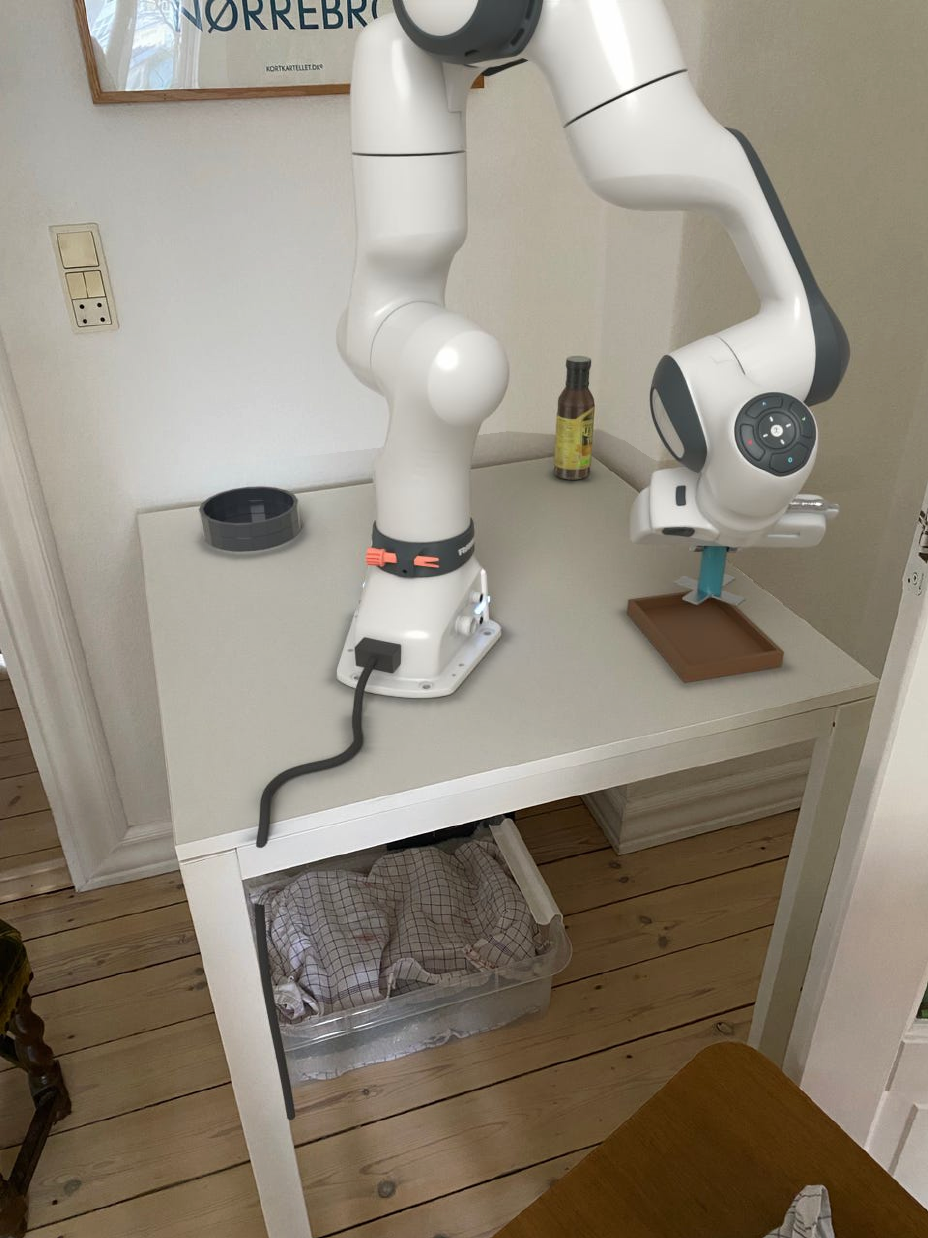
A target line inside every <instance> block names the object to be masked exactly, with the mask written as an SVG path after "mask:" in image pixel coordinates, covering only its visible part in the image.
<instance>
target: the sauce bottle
mask: <svg viewBox="0 0 928 1238" xmlns="http://www.w3.org/2000/svg"><path fill="white" fill-rule="evenodd" d="M591 367H592V358H590V357H588V356H583V355H570V356H567V358H566V360H565V368H566V377H565V387H564V389H563V390H562V391H561V393H560V394H559V396H558V398H557V412H556V418H555V419H556V420H555V439H554V440H555V441H554V456H553V457H554V458H553V461H554V462H553V464H554V469H553V471H554V476H556V477H557V478H559V479H563V480H571V481H577V480H583V479H585V478H587V477H588V476H589V475H590V474H591V470H590V469H591V465H592V453H593V440H594V428H595V427H594V424H595V410H596V404H595V398H594V395H593V393H592V392H591V389H590V388H589V386H590V371H591Z"/></svg>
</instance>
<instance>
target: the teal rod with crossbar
mask: <svg viewBox="0 0 928 1238" xmlns="http://www.w3.org/2000/svg"><path fill="white" fill-rule="evenodd" d="M727 549H728V546H705V548H704V550H703V552H700V554H701V555H700V564H699V569H698V578H697V579H694V578H692V577H689V576H686V575H683V574H682V576H680V577H678V578H677V579H675V580H674V581H673V584H675V585H678V586H681V587H683V588H686V589H688V590H690V591H692V592H690V593H689V594H687V595H685V596H684V597H683V600H685V601H688V602H690V603H693V604H696V605H698V604H700V603H701V602H703V601H704V600H706V599H707V598H709V597H712V598H715V599H718V600H720V601H723V602H726V603H729V604H731V605H734V606H736V607H739V606H740V605H741V604H742V603H744V602H745V601H746V600H747V597H744V596H741V595H738V594H735V593H733V592H731V591H728V590H726V589H725V590H724V588H725V587H727V586H729V585H730V584H731V583H733V582H734V581H735V580H736V579H737V577H736V576H732V575H729V574H728V573H725V569H726V563H727V555H728V552H727Z"/></svg>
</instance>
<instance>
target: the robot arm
mask: <svg viewBox="0 0 928 1238" xmlns="http://www.w3.org/2000/svg"><path fill="white" fill-rule="evenodd" d="M391 3H392V6H393V10H394V11H393V12H389V13H386V14H383V15H380V16H378V17H376V18H374V19H373V20H371V21H370V22H369V23H367V24H366V25H365V26H364V27H363V28H362V29H361V31H360V32H359V33H358V36H357V38H356V40H355V43H354V47H353V53H352V54H353V55H352V63H351V72H350V73H351V74H350V87H349V88H350V89H349V139H350V140H349V141H350V142H349V143H350V152H351V153H350V158H351V172H352V189H353V191H352V192H353V205H354V207H353V208H354V222H355V247H354V248H355V249H354V261H353V263H354V264H353V270H352V275H351V276H352V277H351V284H350V290H349V298H348V303H347V305H346V307H345V308H344V310H343V311H342V313H341V315H340V317H339V319H338V322H337V326H336V331H335V340H336V342H335V343H336V347H337V351H338V354H339V356H340V358H341V360H342V361H343V362H344V364H345V366H346V367H347V369H348V370H349V371H350V372H351V373H352V375H353V376H354V377H355V378H356V380H358V382H359V383H361V384H362V385H363V386H364V387H366V388H368V389H370V390H371V391H373V392H375V393H376V394H379V395H380V396H382V397H384V398H385V400H386V403H387V407H388V412H389V413H388V414H389V415H388V426H387V430H386V436H385V439H384V444H383V446H382V447H380V449H378V451H377V452H376V454H375V455H374V458H373V460H372V465H371V467H372V483H373V485H372V486H373V499H374V502H373V503H374V516H375V519H374V521H373V523H372V531H371V535H370V546H371V547H368V548H367V549H366V554H365V563H366V564H367V570H366V574H365V577H364V581H363V584H362V591H361V595H360V599H359V601H358V602H359V603H358V608H357V609H356V610H355V611H354V613H353V617H352V619H351V623H350V626H349V629H348V633H347V636H346V638H345V642H344V645H343V647H342V651H341V654H340V658H339V661H338V665H337V667H336V680H338V681H339V682H341V683H342V684H344V685H346V686H348V687H350V688H353V689H354V690H355V691H354V696H353V705H352V706H353V708H352V715H351V727H352V734H353V735H352V736H353V740H352V743H351V744H350V746H348V747H347V749H345V750H344V751H342V752H341V753H340V754H337V755H335V756H333V757H330V758H325V759H322V760H317V761H312V762H307V763H304V764H299V765H297V766H293V767H291V768H287V769H285V770H284V771H282V772H280V773H279V774H277V775H276V776H275V777H273V778H272V780H270V781H269V782H268V784H266V786H265V787H264V789H263V790H262V793H261V796H260V800H259V801H260V802H259V818H258V819H259V820H258V827H257V834H256V842H255V846H256V848H258V849H262V848H265V847H266V846H267V844H268V837H269V831H270V824H271V822H270V821H271V805H272V804H271V803H272V798H273V795H274V793H275V792H276V791H277V790H278V789H279V788H280V787H281V786H282V785H283V784H285V782H287V781H289V780H290V779H293V778H295V777H298V776H301V775H304V774H308V773H314V772H317V771H322V770H328V769H330V768H334V767H337V766H339V765H342V764H344V763H346V762H347V761H349V760H350V759H352V758H353V757H354V756H355V755H356V754H357V753H358V752H359V751H360V749H361V747H362V744H363V742H364V741H363V740H364V735H363V729H362V712H363V702H364V694H365V692H366V693H369V694H375V695H382V696H388V697H396V698H407V699H409V698H410V699H431V698H432V699H433V698H439V697H445V696H449V695H452V694H453V693H454V692H456V691H457V689H458V688H459V687H460V686H461V684H462V683H463V682H464V681H465V680H466V679H467V677H468V676H469V675H470V674H471V673H472V672H473V671H474V669H475V668H476V667H477V665H479V663H480V662H481V661H482V659H483V658H484V657H485V656H486V655H487V654H488V652H490V650H491V649H492V648H493V646H494V645H496V643H497V642H498V640H499V639H500V638H501V637H502V627H501V625H500V624H499V623H497V622H496V621H494V620H492V619H491V618H490V612H489V611H490V610H489V603H490V601H491V596H489V591H488V590H489V589H488V588H489V587H488V575H487V571H486V570H485V568H484V567H483V566H482V565H481V564H480V563H479V561H478V560H477V559H476V557H475V554H474V553H475V547H476V546H475V542H476V530H475V522H474V519H473V518H472V516H471V492H472V491H471V490H472V489H471V487H472V485H471V484H472V481H471V479H472V461H473V454H474V449H475V446H476V441H477V438H478V435H479V432H480V429H481V427H482V425H483V423H484V421H485V420H486V419H488V418H489V417H490V416H491V415H492V414H494V413H495V411H496V410H497V409H498V408H499V406H500V405H501V403H502V401H503V400H504V398H505V396H506V393H507V389H508V386H509V381H510V362H509V358H508V354H507V352H506V350H505V349H504V347H503V345H502V344H501V342H500V341H499V340H498V339H497V338H496V337H494V335H493V334H491V333H490V331H488V330H487V329H486V328H484V326H482V325H481V324H480V323H478V322H477V321H476V320H475V319H473V318H472V317H469V316H468V315H465V314H462V313H460V312H457V311H454V310H451V309H449V308H447V306H446V299H445V297H446V287H447V283H448V278H449V273H450V269H451V265H452V263H453V260H454V257H455V256H456V254H457V253H458V252H459V251H460V250H461V248H462V247H463V246H464V244H465V242H466V240H467V235H468V231H469V230H468V229H469V223H468V218H469V217H468V159H467V158H468V153H467V149H468V147H467V104H468V97H469V93H470V91H471V88H472V85H473V84H474V83H475V80H476V79H477V78H478V77H479V76H480V75H481V76H482V77H491V76H493V75H497V74H498V73H500V72H501V73H502V72H503V71H506V70H508V69H510V68H513V67H516V66H518V65H522V64H524V63H528V62H530V63H532V64H533V65H534V66H535V67H536V68H537V69H538V70H539V71H540V72H541V74H542V75H543V77H544V79H545V80H546V82H547V85H548V87H549V89H550V92H551V94H552V97H553V100H554V103H555V106H556V110H557V113H558V116H559V119H560V122H561V125H562V126H561V127H562V128H563V132H564V135H565V138H566V142H567V145H568V147H569V151H570V153H571V156H572V158H573V161H574V163H575V166H576V167H577V170H578V172H579V174H580V176H581V178H582V180H583V182H584V184H585V185H586V186H587V188H588V189H589V190H590V191H591V192H593V194H594V195H596V196H597V197H598V198H600V199H601V200H603V201H605V202H606V203H609V204H610V205H613V206H616V207H619V208H622V209H627V210H631V211H639V212H692V213H697V214H698V213H699V214H702V215H706V216H708V217H710V218H712V219H714V220H715V221H717V222H718V223H719V224H720V225H721V226H722V227H723V228H724V229H725V231H726V232H727V233H728V235H729V237H730V239H731V241H732V243H733V245H734V247H735V250H736V252H737V254H738V256H739V258H740V260H741V262H742V264H743V267H744V268H745V269H744V270H745V271H746V274H747V275H748V277H749V280H750V282H751V284H752V287H753V288H754V290H755V293H756V294H757V297H758V299H759V302H760V308H759V311H758V313H757V314H756V315H754V316H752V317H750V318H748V319H746V320H743V321H742V322H739V323H736V324H734V325H732V326H730V327H728V328H725V329H723V330H720V331H718V332H716V333H714V334H710V335H706V336H704V337H702V338H699V339H697V340H695V341H693V342H690V343H689V344H686V345H684V346H682V347H680V348H677V349H676V350H673V351H671V352H669V353H667V354H664V355H663V356H662V357H661V358H660V360H659V362H658V363H657V365H656V368H655V369H654V373H653V376H652V380H651V385H650V388H649V389H650V390H649V409H650V414H651V419H652V422H653V424H654V427H655V430H656V432H657V434H658V437H659V438H660V440H661V442H662V444H663V446H664V447H665V448H666V450H667V451H668V452H669V454H670V455H671V456H672V457H673V458H674V459H675V460H676V461H677V462H678V463H680V464H681V465H682V466H678V467H671V468H662V469H657V470H654V471H652V473H651V476H650V479H649V480H650V481H649V486H646V487H645V488H644V489H641V491H640V492H639V493H638V494H637V496H636V498H635V500H634V502H633V504H632V507H631V509H630V514H629V540H630V542H632V543H633V544H636V545H656V546H660V545H661V546H687V547H688V551H689V552H690V553H702V552H703V550H704V548H705V546H728V549H727V554H728V553H729V554H730V553H732V554H740V553H741V552H742V550H744V549H748V548H771V549H772V548H773V549H774V548H775V549H777V548H778V549H782V548H783V549H810V548H813V547H816V546H818V545H819V544H820V543H821V542H822V540H823V538H824V535H825V534H826V529H827V522H830V521H832V520H834V519H835V518H836V517H837V516H838V515H839V512H840V510H841V509H840V506H839V503H831V502H829V500H828V499H824V498H823V497H822V496H821V495H817V494H811V493H810V494H808V493H800V492H801V490H802V489H803V487H804V486H805V483H806V482H807V480H808V479H809V476H811V475H810V474H811V472H812V470H813V468H814V465H815V461H816V458H817V453H818V448H819V447H818V446H819V429H818V425H817V421H816V418H815V416H814V413H813V412H812V411H811V409H810V407H814V406H816V405H819V404H822V403H825V402H828V401H829V400H830V399H831V398H833V396H834V395H835V393H836V392H837V390H838V388H839V387H840V385H841V383H842V381H843V380H844V376H845V375H846V372H847V369H848V367H849V363H850V359H851V346H850V342H849V338H848V335H847V332H846V331H845V328H844V326H843V324H842V322H841V321H840V319H839V317H838V315H837V314H836V312H835V310H834V309H833V307H832V305H831V304H830V303H829V301H828V299H827V298H826V296H825V295H824V294H823V291H822V290H821V288H820V287H819V285H818V282H817V280H816V278H815V276H814V273H813V272H812V270H811V267H810V265H809V263H808V261H807V258H806V256H805V253H804V252H803V249H802V247H801V244H800V243H799V239H798V238H797V236H796V234H795V231H794V230H793V229H794V228H793V227H792V224H791V221H790V220H789V218H788V216H787V214H786V211H785V208H784V206H783V204H782V202H781V200H780V198H779V195H778V194H777V191H776V189H775V187H774V184H773V183H772V181H771V179H770V177H769V174H768V172H767V170H766V169H765V166H764V164H763V162H762V160H761V159H760V157H759V154H758V153H757V151H756V149H755V148H754V146H753V145H752V143H751V142H750V141H749V139H748V138H747V137H746V135H745V134H744V133H743V132H742V131H740V130H739V129H737V128H734V127H733V128H732V127H728V126H723V125H722V124H720V123H719V122H718V120H716V119H715V118H714V116H713V115H712V114H711V113H710V112H709V111H708V109H707V108H706V106H705V105H704V103H703V102H702V100H701V99H700V97H699V96H698V93H697V92H696V91H697V90H696V89H695V87H694V85H693V81H692V80H691V76H690V73H689V71H688V70H689V69H688V66H687V62H686V59H685V55H684V53H683V49H682V46H681V44H680V40H679V36H678V35H677V31H676V28H675V26H674V24H673V20H672V18H671V16H670V13H669V10H668V8H667V6H666V4H665V1H664V0H392V1H391ZM253 905H254V921H255V923H254V925H255V938H256V947H257V956H258V964H259V973H260V979H261V985H262V992H263V997H264V1002H265V1003H264V1004H265V1008H266V1014H267V1020H268V1024H269V1030H270V1035H271V1040H272V1045H273V1049H274V1054H275V1059H276V1064H277V1068H278V1073H279V1078H280V1084H281V1090H282V1095H283V1101H284V1107H285V1113H286V1119H287V1120H288V1121H293V1120H294V1119H295V1118H296V1110H295V1103H294V1097H293V1091H292V1085H291V1080H290V1073H289V1069H288V1068H289V1067H288V1063H287V1059H286V1053H285V1048H284V1043H283V1037H282V1033H281V1028H280V1022H279V1017H278V1012H277V1006H276V1001H275V996H274V995H275V994H274V989H273V983H272V974H271V967H270V966H271V965H270V960H269V949H268V938H267V926H266V905H265V904H260V903H255V902H254V903H253Z"/></svg>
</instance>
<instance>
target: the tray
mask: <svg viewBox="0 0 928 1238" xmlns="http://www.w3.org/2000/svg"><path fill="white" fill-rule="evenodd" d="M692 591H693V590H687V591H680V592H672V593H671V592H670V593H666V594H658V595H650V596H644V597H636V598H629V599H627V608H626V615H627V616H628V617H629V618H630V620H631V621H632V622H633V623H634V624H635V625H636V627H637V628H638V629H639V630H640V631H641V633H642V634H643V635H644V636H645V638H646V639H647V640H648V641H649V642H650V644H651V645H652V646H653V647H654V648H655V649H656V651H657V652H658V653H659V654H660V655H661V657H662V658H663V659H664V660H665V662H666V663H667V664H668V665H669V667H671V669H672V670H673V671H674V672H675V673H676V676H678V677H679V678H680V680H681V681H682V682H683V683H684V684H687V683H691V682H698V681H704V680H710V679H718V678H722V677H728V676H729V677H730V676H734V675H741V674H747V673H748V674H749V673H754V672H760V671H766V670H772V669H778V668H782V665H783V660H784V655H785V651H784V650H783V649H782V647H780V646H779V645H777V643H775V641H774V640H772V639H771V638H770V637H769V636H768V635H767V634H766V633H765V632H764V631H763V630H762V629H761V628H760V627H758V626H757V625H756V623H755V622H753V621H752V620H751V619H750V618H749V617H748V616H747V615H746V614H745V613H744V612H743V611H742V610H741V609H740V608H738V606H734V605H731V604H729V603H726V602H723V601H720V600H718V599H715V598H712V597H709V598H707V599H706V600H704V601H703V602H701V603H700V604H698V605H696V604H693V603H690V602H688V601H685V600H683V597H684V596H685V595H687V594H689V593H690V592H692Z"/></svg>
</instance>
